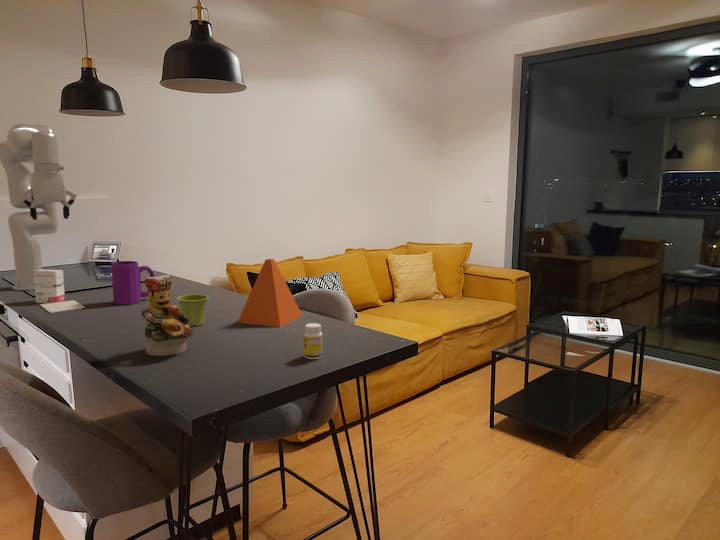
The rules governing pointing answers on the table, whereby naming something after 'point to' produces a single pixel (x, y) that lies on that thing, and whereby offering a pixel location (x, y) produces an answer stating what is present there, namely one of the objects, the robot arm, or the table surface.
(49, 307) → the mat
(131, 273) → the mug
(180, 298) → the plant pot
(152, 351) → the figurine
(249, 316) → the pyramid
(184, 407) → the table surface
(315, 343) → the supplement bottle
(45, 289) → the ink box
